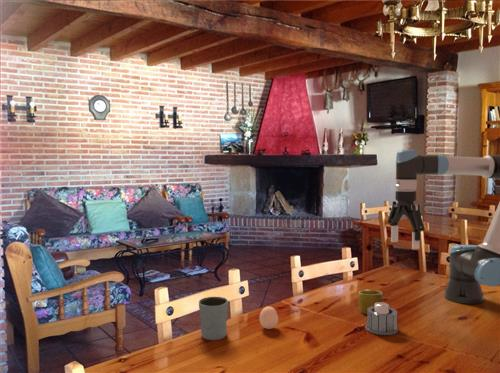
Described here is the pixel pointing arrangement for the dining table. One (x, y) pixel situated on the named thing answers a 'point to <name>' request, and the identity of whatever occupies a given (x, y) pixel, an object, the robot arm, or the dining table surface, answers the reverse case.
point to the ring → (382, 321)
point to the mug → (369, 299)
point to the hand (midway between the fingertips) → (404, 245)
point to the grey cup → (213, 317)
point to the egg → (268, 318)
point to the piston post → (381, 309)
